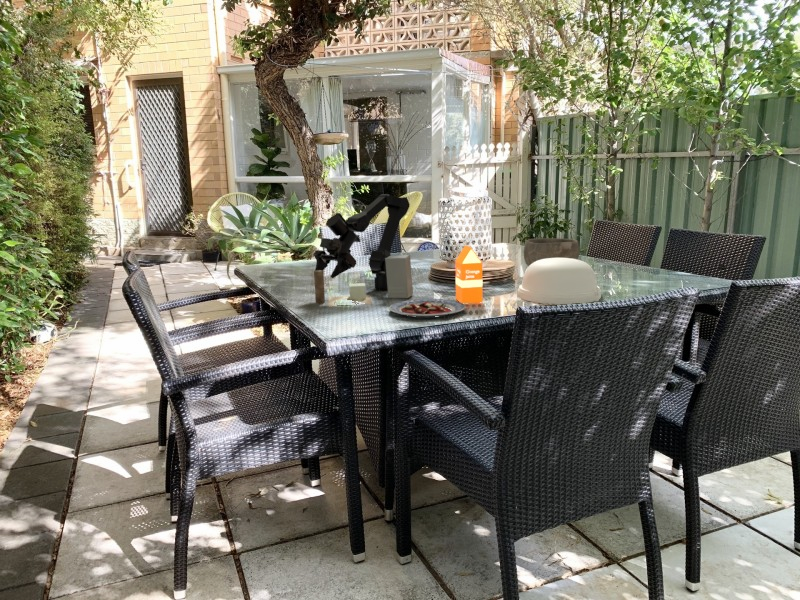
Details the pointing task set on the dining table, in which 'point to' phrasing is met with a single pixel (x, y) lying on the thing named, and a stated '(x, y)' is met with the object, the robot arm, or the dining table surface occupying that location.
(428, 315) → the ceramic plate
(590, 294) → the dome cover
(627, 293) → the dining table surface
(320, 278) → the peg
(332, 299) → the board
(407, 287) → the skincare box
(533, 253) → the bowl
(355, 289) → the grey green block
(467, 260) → the orange juice
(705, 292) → the dining table surface
